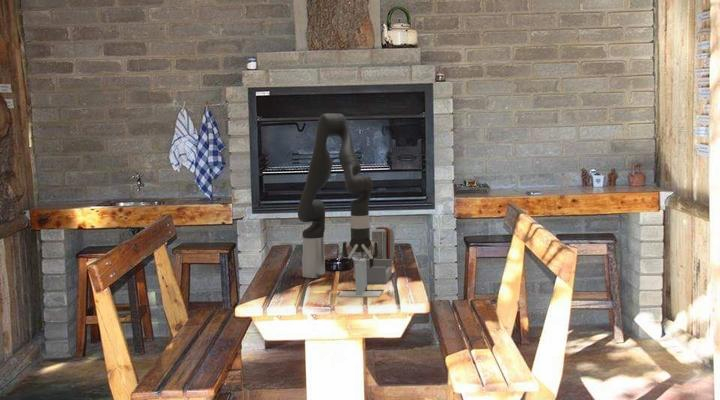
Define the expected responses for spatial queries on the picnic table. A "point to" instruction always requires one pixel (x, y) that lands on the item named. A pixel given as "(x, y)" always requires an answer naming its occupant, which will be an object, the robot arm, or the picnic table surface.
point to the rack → (378, 271)
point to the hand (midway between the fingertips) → (361, 267)
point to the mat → (366, 294)
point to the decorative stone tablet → (384, 242)
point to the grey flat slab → (361, 276)
